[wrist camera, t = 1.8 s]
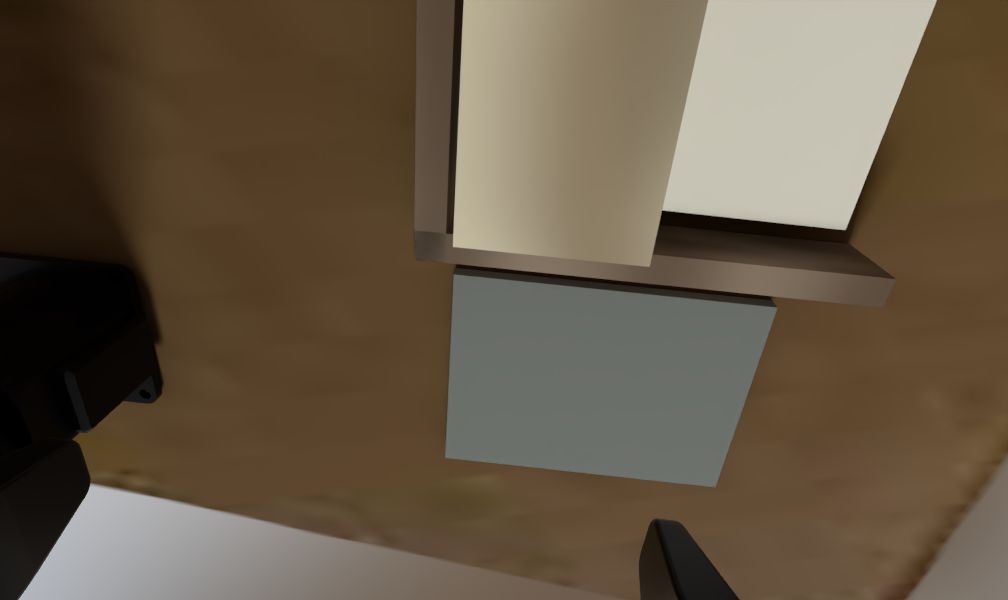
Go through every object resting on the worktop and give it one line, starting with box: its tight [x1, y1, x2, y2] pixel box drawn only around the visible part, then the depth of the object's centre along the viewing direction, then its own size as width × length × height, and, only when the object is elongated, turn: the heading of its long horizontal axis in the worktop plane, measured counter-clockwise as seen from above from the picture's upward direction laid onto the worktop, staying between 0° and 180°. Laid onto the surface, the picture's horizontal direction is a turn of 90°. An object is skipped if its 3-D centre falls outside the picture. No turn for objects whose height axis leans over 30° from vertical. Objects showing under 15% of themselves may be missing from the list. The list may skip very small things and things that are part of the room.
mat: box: [445, 268, 777, 487], centre depth 23 cm, size 12×9×1 cm
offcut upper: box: [662, 0, 937, 230], centre depth 16 cm, size 6×9×1 cm
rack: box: [414, 0, 896, 308], centre depth 16 cm, size 15×14×3 cm
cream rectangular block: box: [453, 0, 708, 267], centre depth 14 cm, size 4×8×9 cm, turn 175°
